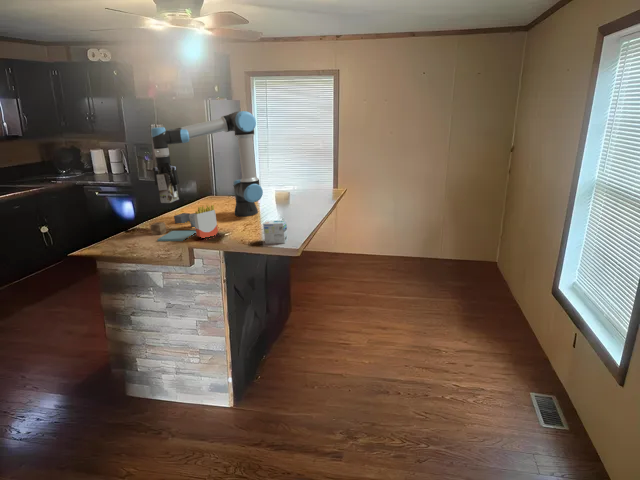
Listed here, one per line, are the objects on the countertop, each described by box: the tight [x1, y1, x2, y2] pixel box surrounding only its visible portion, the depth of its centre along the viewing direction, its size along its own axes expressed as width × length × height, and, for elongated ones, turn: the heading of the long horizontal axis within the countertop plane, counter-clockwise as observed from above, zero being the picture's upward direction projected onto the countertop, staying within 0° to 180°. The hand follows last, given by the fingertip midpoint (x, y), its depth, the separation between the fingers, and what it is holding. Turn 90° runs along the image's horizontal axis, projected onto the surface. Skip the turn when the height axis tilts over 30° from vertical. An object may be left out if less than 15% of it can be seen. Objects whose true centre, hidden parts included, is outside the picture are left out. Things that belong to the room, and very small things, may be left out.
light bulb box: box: [262, 219, 289, 245], centre depth 222 cm, size 11×7×11 cm, turn 81°
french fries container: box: [194, 204, 219, 239], centre depth 237 cm, size 5×11×18 cm, turn 133°
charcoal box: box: [173, 212, 191, 224], centre depth 278 cm, size 6×8×5 cm
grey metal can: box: [189, 212, 195, 228], centre depth 263 cm, size 6×6×8 cm
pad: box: [157, 230, 196, 242], centre depth 245 cm, size 16×16×1 cm
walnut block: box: [149, 221, 167, 236], centre depth 255 cm, size 6×6×6 cm
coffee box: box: [157, 173, 180, 204], centre depth 247 cm, size 9×6×16 cm
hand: (169, 196), depth 248 cm, fingers closed on coffee box, 6 cm apart
